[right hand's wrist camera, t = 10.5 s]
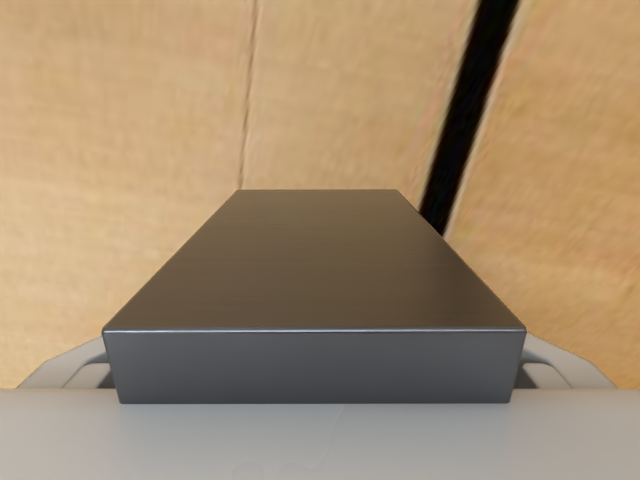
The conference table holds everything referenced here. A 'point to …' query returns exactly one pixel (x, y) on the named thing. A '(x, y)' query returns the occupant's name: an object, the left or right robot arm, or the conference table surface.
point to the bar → (315, 311)
